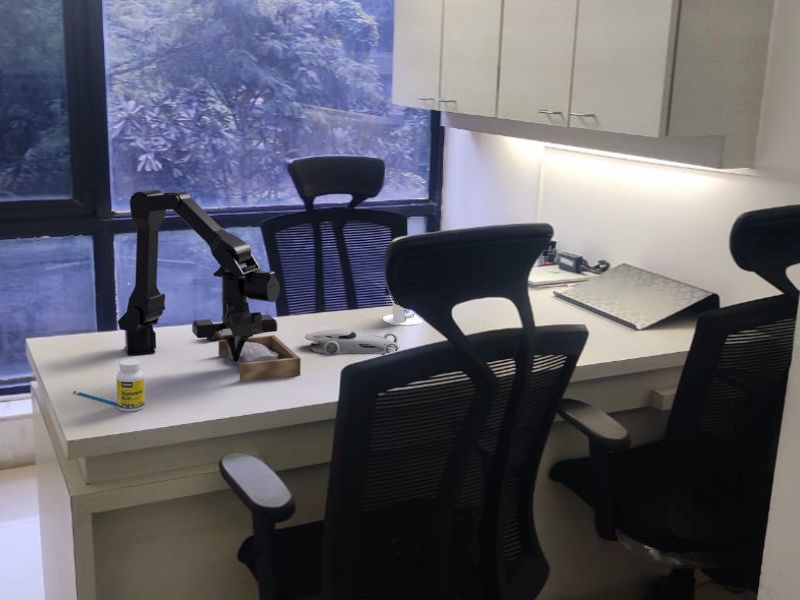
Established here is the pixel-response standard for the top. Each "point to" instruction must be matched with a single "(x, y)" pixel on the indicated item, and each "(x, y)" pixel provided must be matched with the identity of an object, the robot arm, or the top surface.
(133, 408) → the supplement bottle
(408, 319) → the white upright piece
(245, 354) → the stone block
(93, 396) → the pencil
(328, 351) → the car model
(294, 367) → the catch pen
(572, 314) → the top surface
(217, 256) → the robot arm
